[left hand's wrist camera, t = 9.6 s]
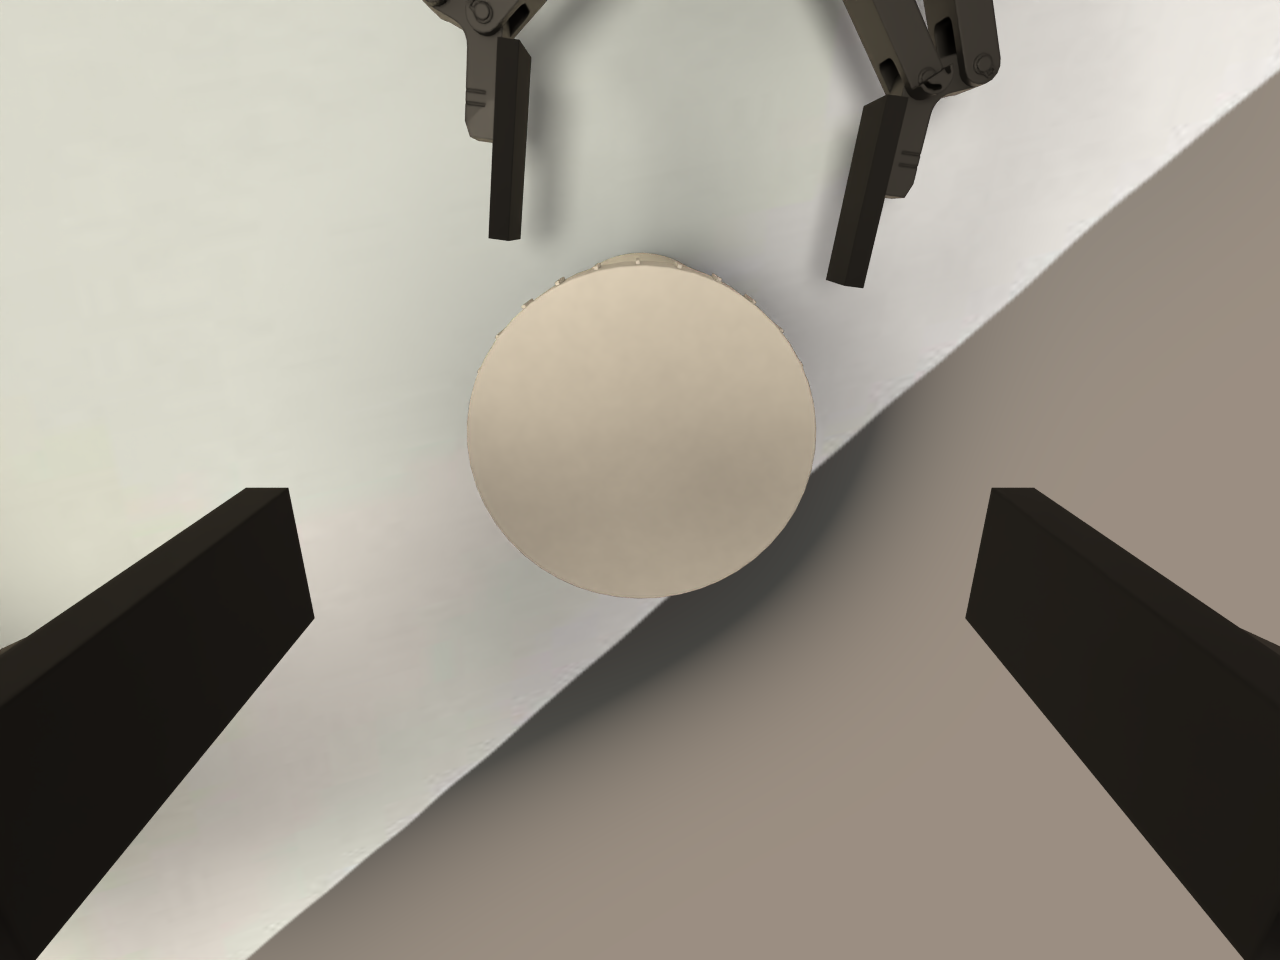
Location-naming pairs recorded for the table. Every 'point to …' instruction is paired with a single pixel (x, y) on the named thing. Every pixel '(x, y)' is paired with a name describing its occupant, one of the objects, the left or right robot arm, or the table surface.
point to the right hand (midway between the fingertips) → (676, 262)
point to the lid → (641, 430)
